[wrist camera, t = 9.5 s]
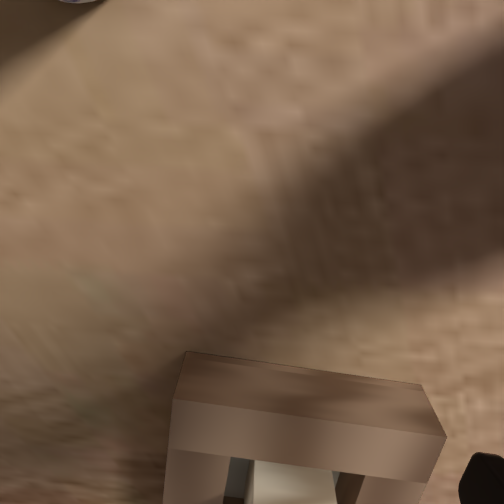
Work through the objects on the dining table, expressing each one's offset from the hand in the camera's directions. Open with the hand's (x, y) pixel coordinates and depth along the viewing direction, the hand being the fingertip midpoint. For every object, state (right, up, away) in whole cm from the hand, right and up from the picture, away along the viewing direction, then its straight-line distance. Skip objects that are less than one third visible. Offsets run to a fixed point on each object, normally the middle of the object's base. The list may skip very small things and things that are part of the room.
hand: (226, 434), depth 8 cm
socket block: (+2, -8, +17) cm, 19 cm away
